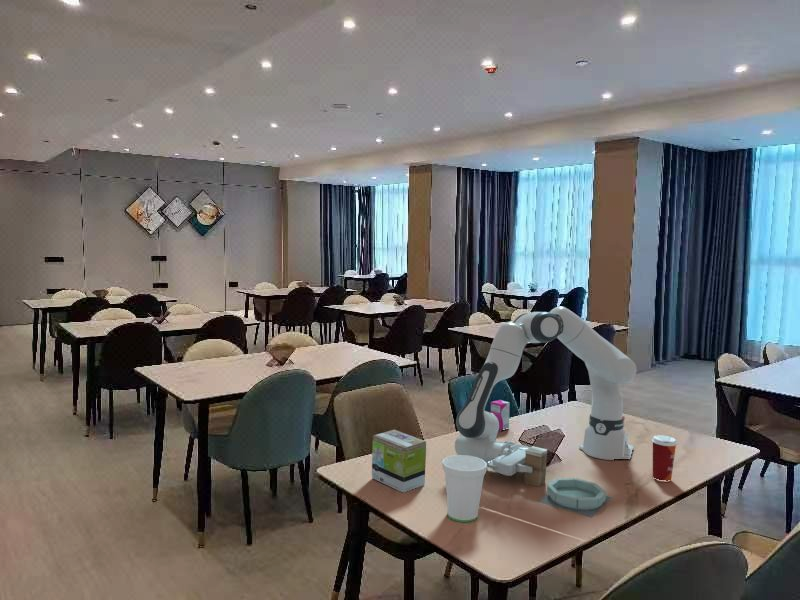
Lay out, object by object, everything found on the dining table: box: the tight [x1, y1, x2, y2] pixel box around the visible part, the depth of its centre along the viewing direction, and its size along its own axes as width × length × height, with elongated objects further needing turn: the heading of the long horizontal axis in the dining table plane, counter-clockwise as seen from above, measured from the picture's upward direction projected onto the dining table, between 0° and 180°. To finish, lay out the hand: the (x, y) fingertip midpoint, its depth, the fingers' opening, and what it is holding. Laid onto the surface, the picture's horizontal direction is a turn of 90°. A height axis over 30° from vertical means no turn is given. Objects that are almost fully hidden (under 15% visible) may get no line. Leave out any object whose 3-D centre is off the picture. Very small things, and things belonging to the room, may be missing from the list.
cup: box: [441, 454, 488, 523], centre depth 166 cm, size 12×12×15 cm
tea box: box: [371, 429, 427, 494], centre depth 188 cm, size 15×10×15 cm, turn 45°
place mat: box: [538, 493, 613, 518], centre depth 179 cm, size 18×16×1 cm
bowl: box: [546, 477, 607, 510], centre depth 179 cm, size 16×16×3 cm
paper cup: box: [651, 434, 678, 481], centre depth 198 cm, size 8×8×14 cm
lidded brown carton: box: [523, 445, 548, 488], centre depth 191 cm, size 5×5×11 cm
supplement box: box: [490, 399, 510, 430], centre depth 248 cm, size 6×6×12 cm
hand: (538, 466), depth 190 cm, fingers open, 7 cm apart
